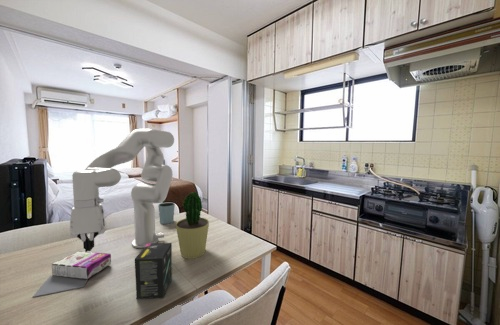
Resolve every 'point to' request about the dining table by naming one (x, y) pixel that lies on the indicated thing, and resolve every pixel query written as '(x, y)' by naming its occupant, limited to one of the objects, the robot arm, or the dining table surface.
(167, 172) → the robot arm
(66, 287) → the mat
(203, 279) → the dining table surface
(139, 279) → the tampon box
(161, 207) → the blue grey cup
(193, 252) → the potted cactus
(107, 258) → the candy bar box
